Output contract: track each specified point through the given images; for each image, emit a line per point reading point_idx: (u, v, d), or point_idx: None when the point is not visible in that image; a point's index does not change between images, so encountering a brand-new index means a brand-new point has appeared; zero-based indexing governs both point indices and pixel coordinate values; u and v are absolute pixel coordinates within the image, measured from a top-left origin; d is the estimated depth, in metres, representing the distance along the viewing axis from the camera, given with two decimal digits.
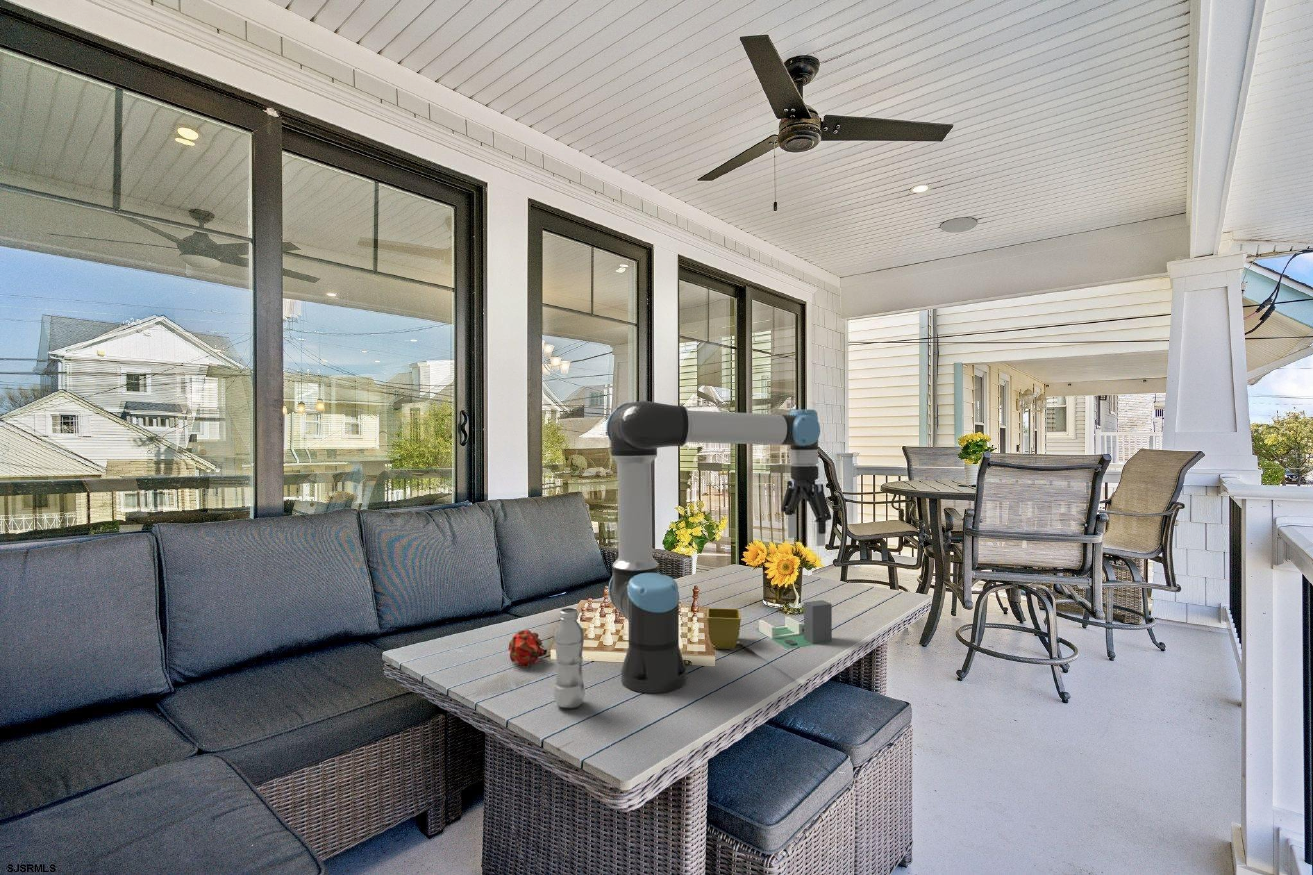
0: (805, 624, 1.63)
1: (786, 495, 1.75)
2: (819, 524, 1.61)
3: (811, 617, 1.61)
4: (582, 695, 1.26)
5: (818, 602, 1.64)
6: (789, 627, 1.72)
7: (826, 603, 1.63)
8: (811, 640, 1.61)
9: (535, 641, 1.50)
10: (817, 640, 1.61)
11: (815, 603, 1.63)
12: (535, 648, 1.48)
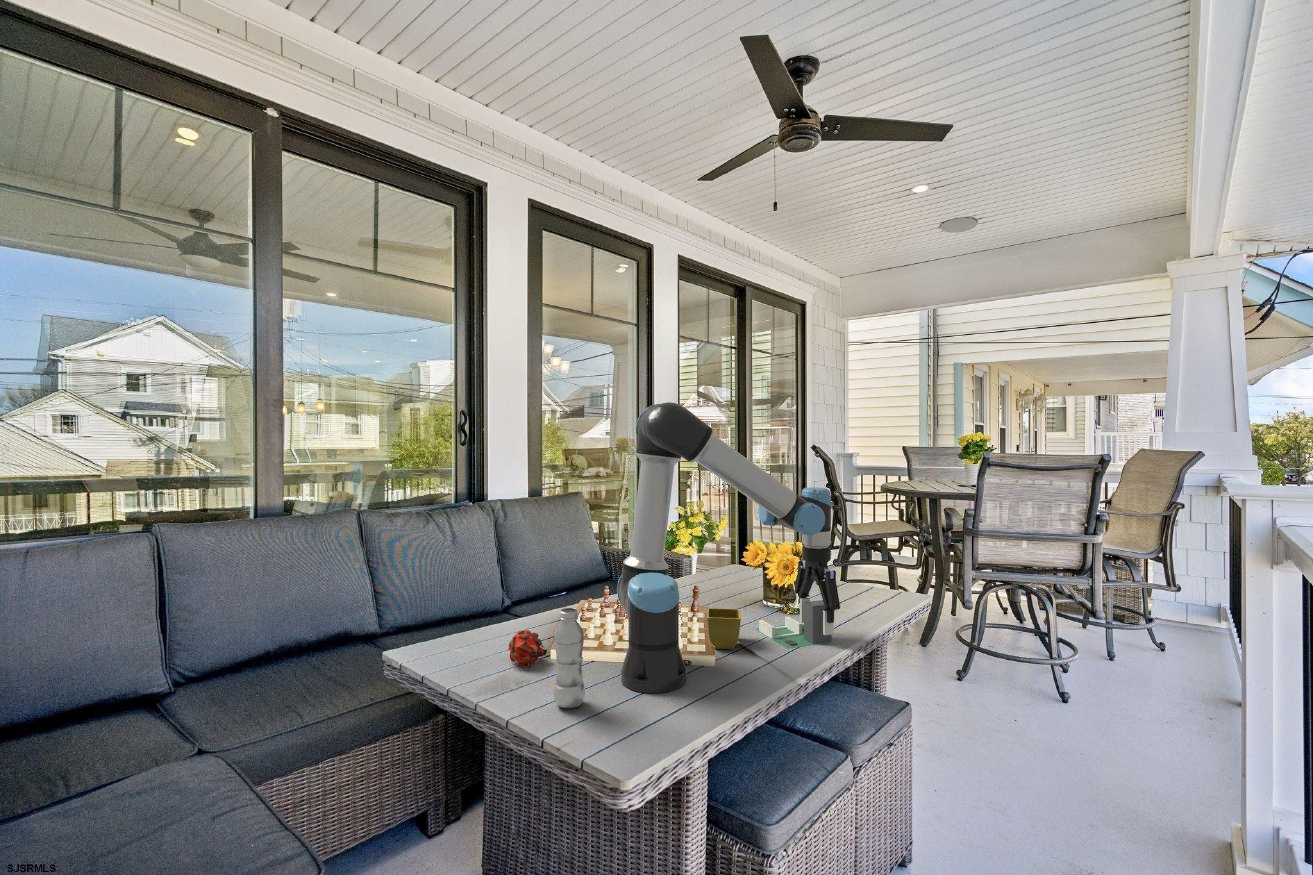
0: (805, 624, 1.63)
1: (798, 576, 1.69)
2: (828, 613, 1.58)
3: (811, 617, 1.61)
4: (582, 695, 1.26)
5: (818, 602, 1.64)
6: (789, 627, 1.72)
7: None
8: (811, 640, 1.61)
9: (535, 641, 1.50)
10: (817, 640, 1.61)
11: (815, 603, 1.63)
12: (535, 648, 1.48)
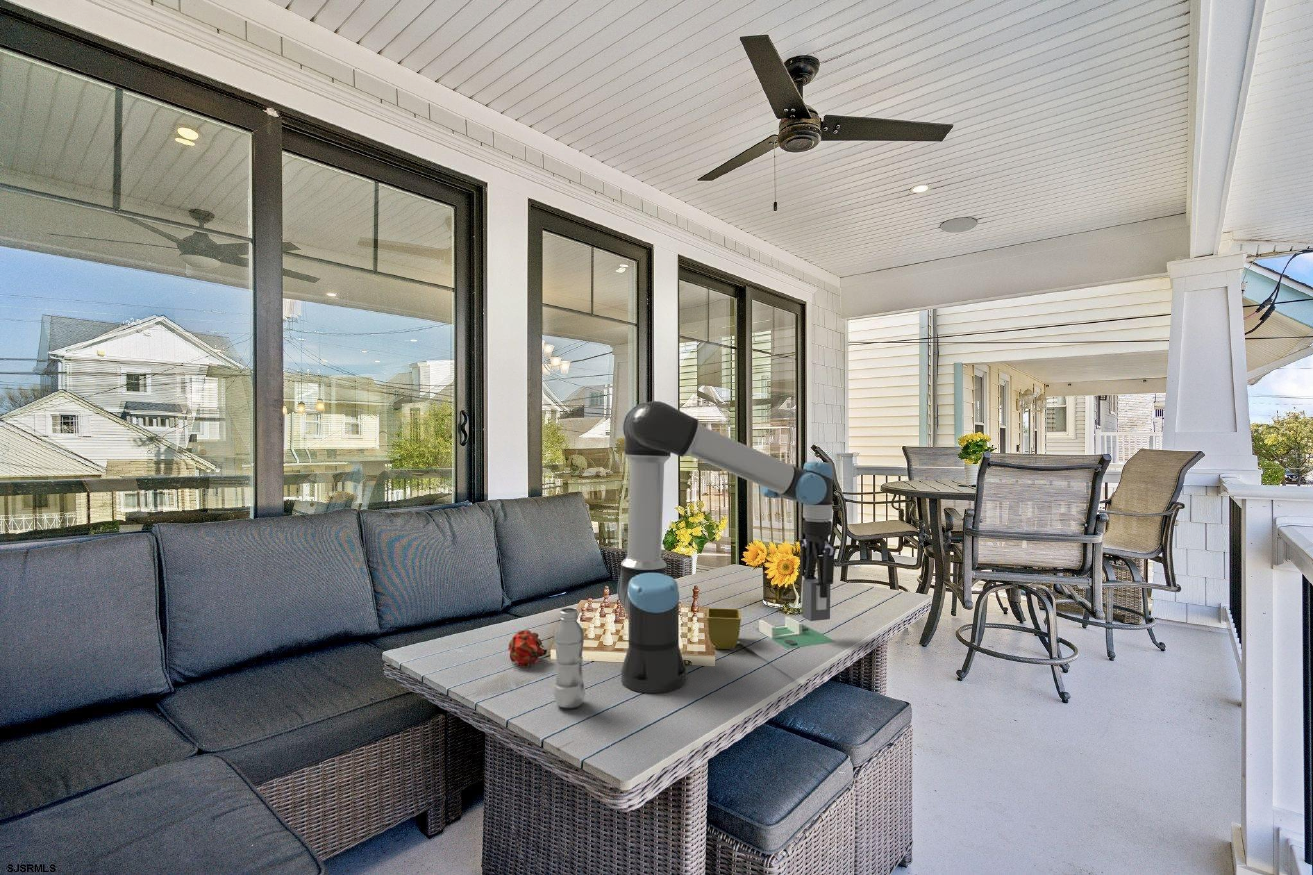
0: (804, 602, 1.63)
1: (801, 556, 1.67)
2: (821, 588, 1.60)
3: (810, 594, 1.60)
4: (582, 695, 1.26)
5: (817, 580, 1.64)
6: (789, 627, 1.72)
7: None
8: (809, 617, 1.61)
9: (535, 641, 1.50)
10: (815, 617, 1.61)
11: (814, 580, 1.63)
12: (535, 648, 1.48)
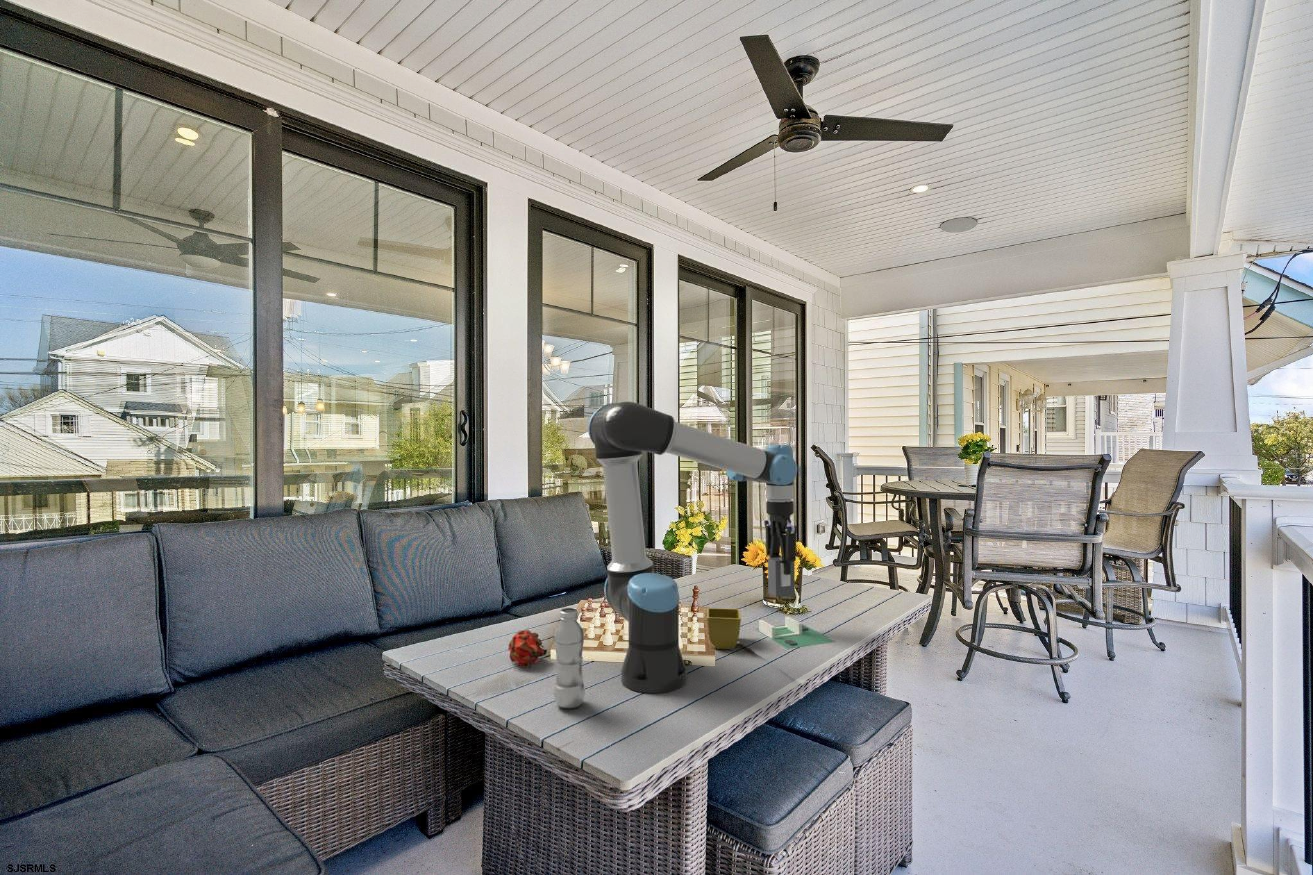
0: (769, 579, 1.70)
1: (767, 535, 1.74)
2: (784, 565, 1.66)
3: (774, 572, 1.67)
4: (582, 695, 1.26)
5: (781, 558, 1.70)
6: (789, 627, 1.72)
7: None
8: (774, 593, 1.67)
9: (535, 641, 1.50)
10: (780, 594, 1.67)
11: (779, 558, 1.69)
12: (535, 648, 1.48)
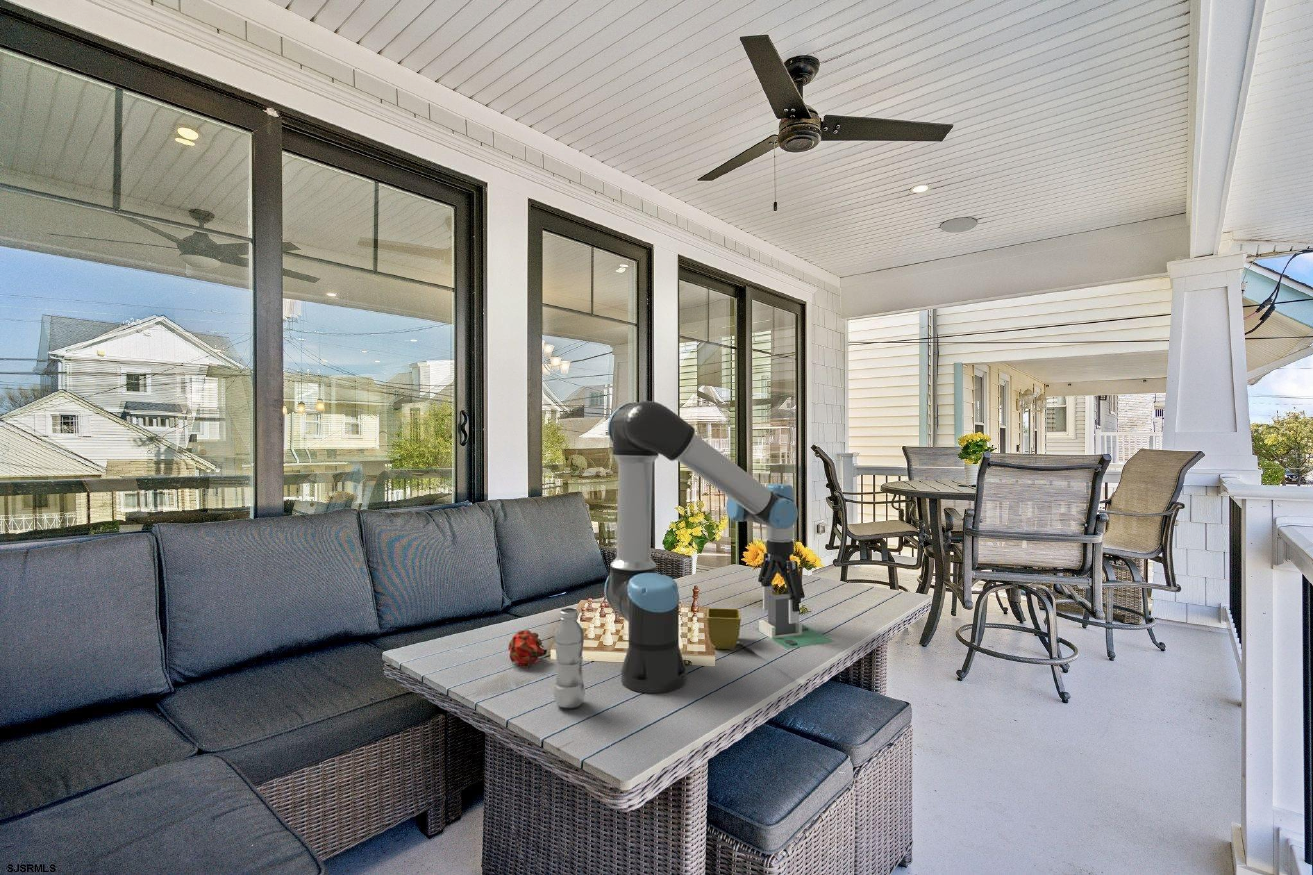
0: (769, 617, 1.70)
1: (763, 567, 1.76)
2: (793, 602, 1.62)
3: (774, 610, 1.67)
4: (582, 695, 1.26)
5: (782, 596, 1.70)
6: None
7: (789, 597, 1.69)
8: None
9: (535, 641, 1.50)
10: (780, 632, 1.67)
11: (779, 596, 1.69)
12: (535, 648, 1.48)
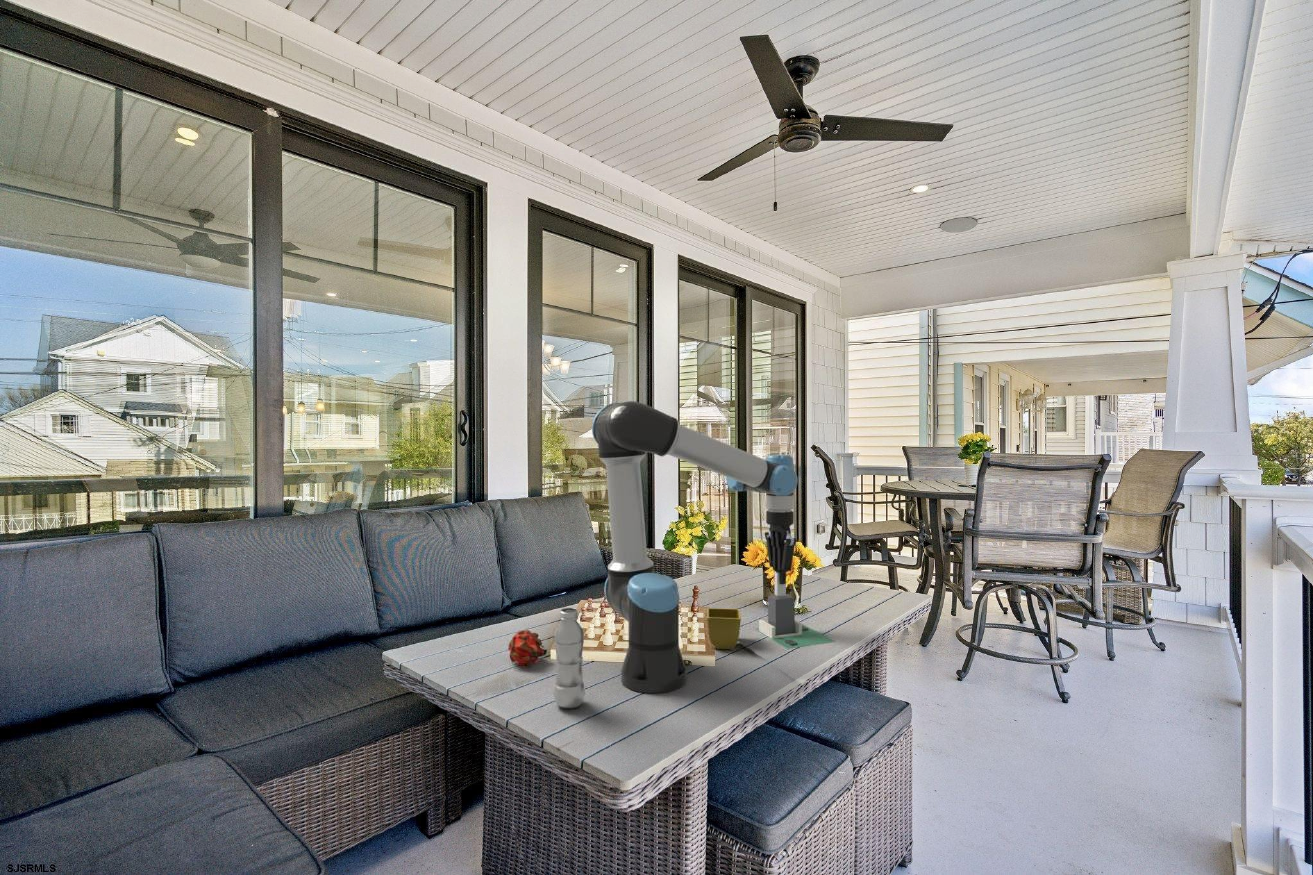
0: (769, 617, 1.70)
1: (768, 547, 1.73)
2: (780, 574, 1.68)
3: (774, 610, 1.67)
4: (582, 695, 1.26)
5: (782, 596, 1.70)
6: None
7: (789, 597, 1.69)
8: None
9: (535, 641, 1.50)
10: (780, 632, 1.67)
11: (779, 596, 1.69)
12: (535, 648, 1.48)
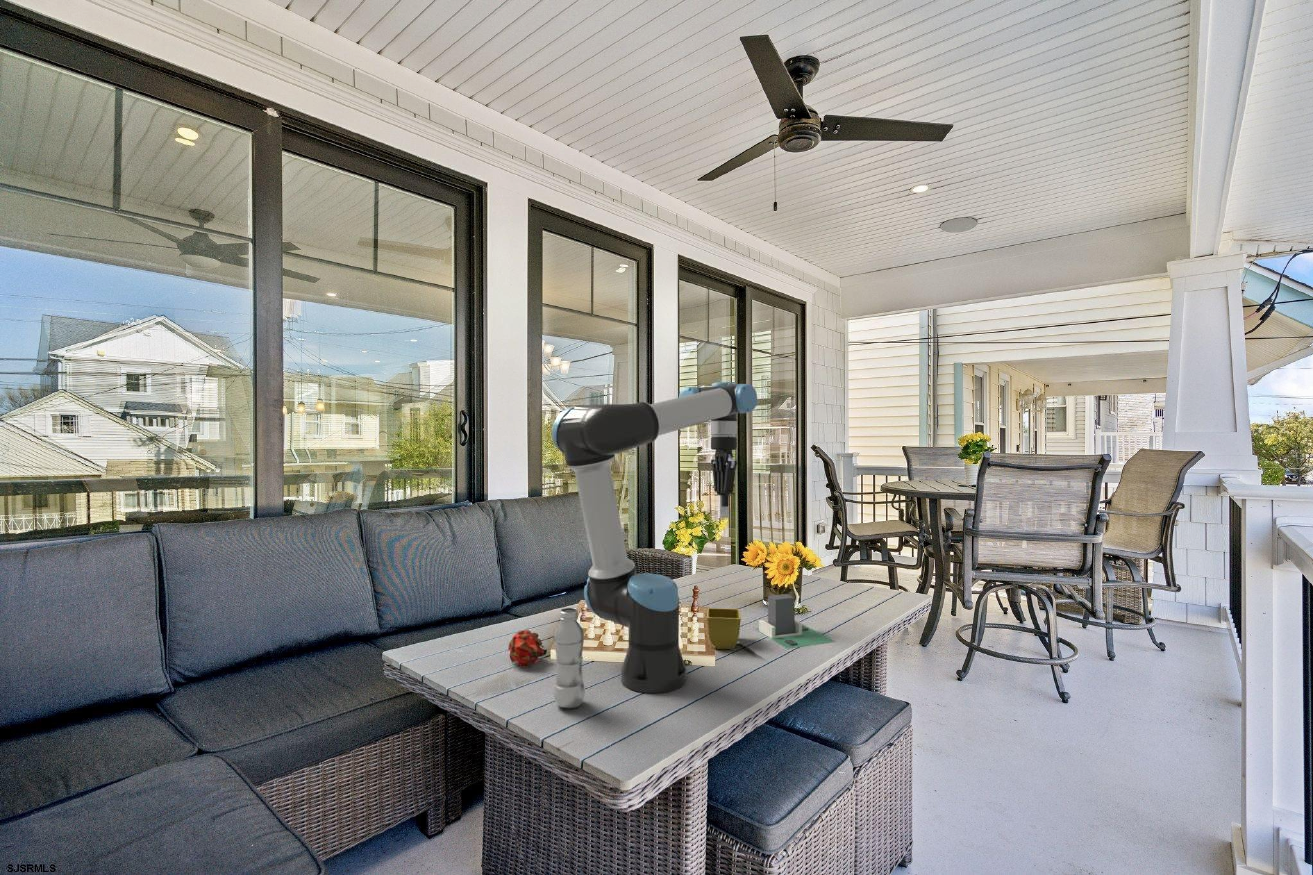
0: (769, 617, 1.70)
1: (713, 473, 1.79)
2: (723, 497, 1.74)
3: (774, 610, 1.67)
4: (582, 695, 1.26)
5: (782, 596, 1.70)
6: None
7: (789, 597, 1.69)
8: None
9: (535, 641, 1.50)
10: (780, 632, 1.67)
11: (779, 596, 1.69)
12: (535, 648, 1.48)
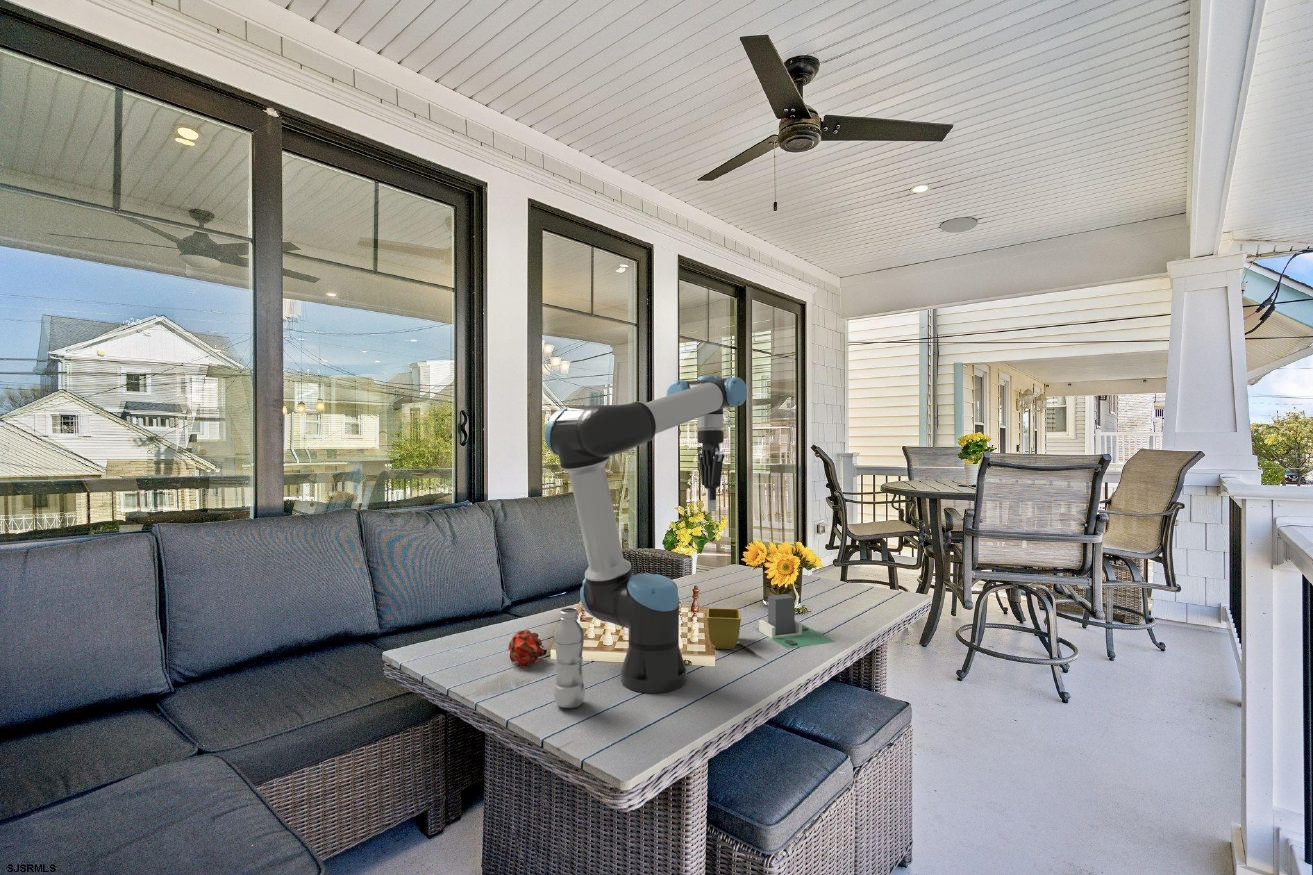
0: (769, 617, 1.70)
1: (701, 466, 1.80)
2: (710, 491, 1.75)
3: (774, 610, 1.67)
4: (582, 695, 1.26)
5: (782, 596, 1.70)
6: None
7: (789, 597, 1.69)
8: None
9: (535, 641, 1.50)
10: (780, 632, 1.67)
11: (779, 596, 1.69)
12: (535, 648, 1.48)
